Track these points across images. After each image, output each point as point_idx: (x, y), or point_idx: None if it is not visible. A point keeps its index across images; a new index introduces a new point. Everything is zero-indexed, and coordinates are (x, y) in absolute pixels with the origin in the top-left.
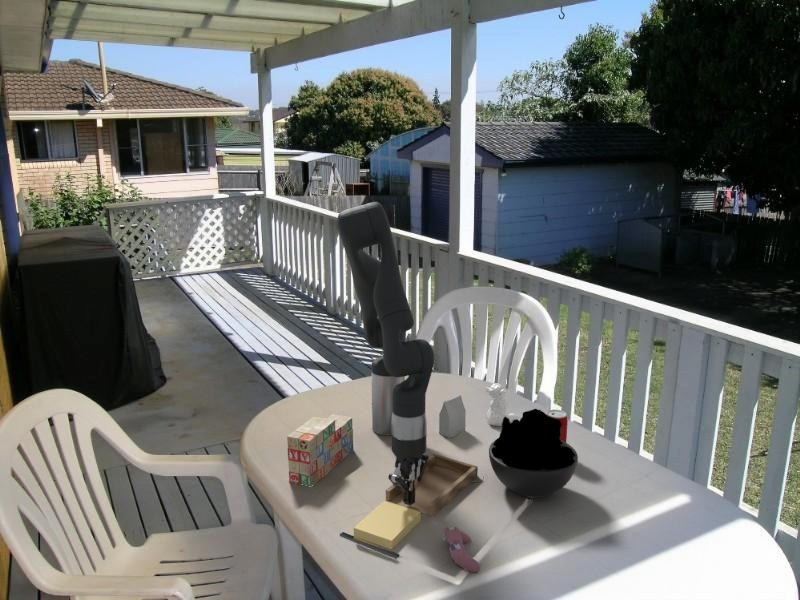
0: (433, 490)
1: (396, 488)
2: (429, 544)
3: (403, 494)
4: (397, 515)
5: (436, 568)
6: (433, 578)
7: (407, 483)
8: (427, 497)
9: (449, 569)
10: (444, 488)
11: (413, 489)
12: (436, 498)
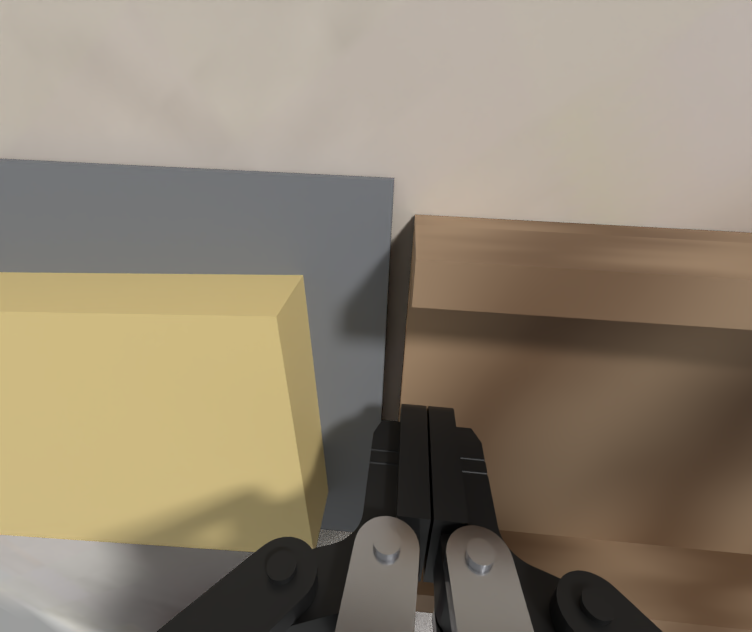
0: (699, 460)
1: (257, 551)
2: (223, 550)
3: (367, 485)
4: (181, 477)
5: (130, 596)
6: (85, 601)
7: (445, 577)
8: (586, 459)
9: (159, 620)
10: (748, 501)
11: (423, 581)
12: None
